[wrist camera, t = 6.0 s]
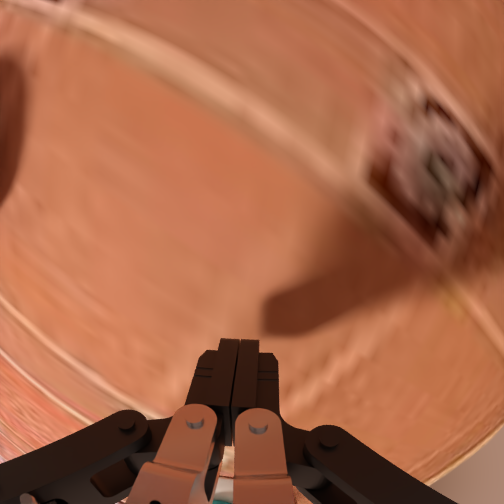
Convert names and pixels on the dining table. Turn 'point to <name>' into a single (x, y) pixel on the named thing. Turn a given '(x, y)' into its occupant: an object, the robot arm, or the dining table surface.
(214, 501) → the ball
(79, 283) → the dining table surface
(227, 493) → the white disc
